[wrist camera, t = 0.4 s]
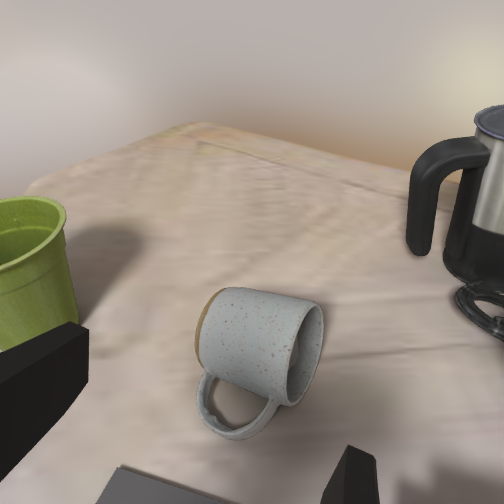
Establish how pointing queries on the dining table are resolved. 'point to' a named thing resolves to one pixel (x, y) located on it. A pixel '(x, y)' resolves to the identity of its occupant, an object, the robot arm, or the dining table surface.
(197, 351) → the ceramic mug
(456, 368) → the dining table surface
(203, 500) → the mat
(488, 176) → the milk frother
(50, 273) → the plant pot
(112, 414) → the dining table surface
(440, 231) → the dining table surface
